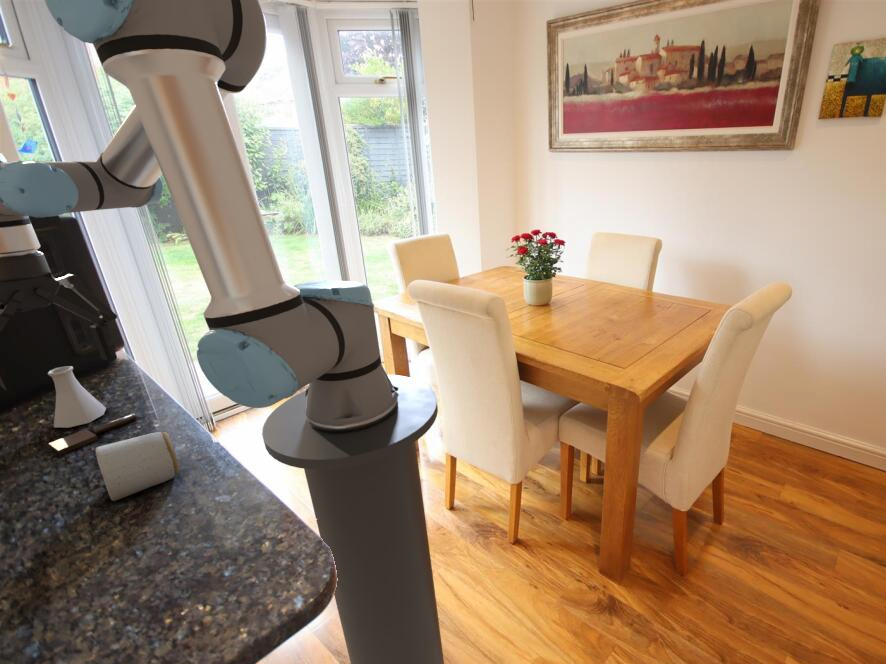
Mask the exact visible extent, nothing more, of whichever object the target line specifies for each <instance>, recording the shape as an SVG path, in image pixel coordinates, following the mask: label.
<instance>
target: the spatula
mask: <svg viewBox="0 0 886 664" xmlns="http://www.w3.org/2000/svg"><path fill="white" fill-rule="evenodd" d="M137 417H138V416H137V414H136V413H130V414H128V415H125V416H123V417H119V418H117V419H114V420H112V421H109V422H106V423H104V424H102V425H99V426H97V427H95V428H94V429H93V432H94V433H93V432H91V431H90V430H88V429H86V428H85V429H82V430H80V431H77V432H74V433H72V434H69V435H67V436H65V437H62V438H59V439H56V440H54V441H51V442H49V443H48V447H49V448H50V449H52V450H53V451H54V452H55V453H57V454H58V455H60V456H61V455H63V454H66V453H68V452H71V451H73V450H76V449H79V448H80V447H83V446H86V445H88V444H91V443H93V442H95V441H98V440H99V438H98V436H97V435H100V434H102V433H106V432H107V431H110V430H113V429H116V428H117V427H120V426H122V425H125V424H128V423H130V422H132V421H135V420H136V419H137ZM96 434H97V435H96Z"/></svg>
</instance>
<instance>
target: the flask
mask: <svg viewBox="0 0 886 664" xmlns="http://www.w3.org/2000/svg"><path fill="white" fill-rule="evenodd" d="M73 370H74V367H73V366H72V365H67V366H66V365H65V366H60V367H55V368H53V369H50V370H49V371H48V372H47V375H48V376H49V377H51V379H52V381H53V383H54V388H55V407H54V409H55V410H54V419H53V428H66V429H69V428H72V427H77V426H81V425H85V424H90V423H91V422H93V421H95V420H96V419H98V418H100V417H102V416H104V415H105V412H106V410H107V407H106V406H105V405H103V403H101V402H100V401H99V400H98V399H97V398H95V397H94V396H93V395H92V394H91V393H90V392H89V391H87V390H86V388H85V387H83V386H82V385H81V383H80V382H79V380H78V379H77V378H76V376H75V374H74V372H73Z"/></svg>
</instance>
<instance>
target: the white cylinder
mask: <svg viewBox="0 0 886 664" xmlns="http://www.w3.org/2000/svg"><path fill="white" fill-rule="evenodd" d="M173 445H174V444H173V442H172V440H171V436H170V435H169V433H167V432H166V431H155V432H151V433H146V434H143V435H139V436H136V437H132V438H127V439H124V440H120V441H116V442H112V443H107V444H103V445H101V446H97V447H96V448H95V454H96V455H95V456H96V460H97V464H98V466H99V470H100V473H101V475H102V476H101V477H102V478H103V482H104V484H105V487H106V490H107V493H108V496H109V498H110V500H111V501H112V502H116V501H118V500H121V499H124V498H126V497H128V496H131V495H134V494H137V493H140V492H142V491H144V490H146V489H149V488H152V487H154V486H157V485H159V484H162V483H165V482H167V481H170V480H171V479H173V478H175V477H176V476H178V475H179V473H180V471H181V468H180V464H179V460H178V457H177V454H176V450H175V448H174V446H173Z"/></svg>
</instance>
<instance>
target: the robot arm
mask: <svg viewBox="0 0 886 664" xmlns="http://www.w3.org/2000/svg"><path fill="white" fill-rule="evenodd" d="M44 3H45V5H46V7H47V9H48V11H49V14H50V15H51V16H52V18H53V19H54V20H55V22H56V23H57V24H58V26H60V27H61V28H63V30H64V31H65V32H66V33H67V34H68V35H70V36H72V37H74V38H76V39H78V40H79V41H80V42H82V43H87V44H92V46H93V48H94V50H95V52H96V55H97V58H98V60H99V62H100V65H101V67H102V69H103V71H104V73H105V74H106V75H107V76H109V77H110V78H111V79H114V80H115V81H117V82H118V83H120V84H121V85H123V86H125V87H126V89H127V90H128V91H129V93H130V96H131V98H132V100H133V103H134V106H133V107H132V109H131V110H130V111H129V113H128V115H126V118H125V119H124V121H123V122H122V123H121V125H120V126H119V128H118V129H117V131H116V132H115V134H114V135H113V136H112V138H111V140H110V141H109V142H108V144H107V145H106V147H105V148H104V149H103V151H102V152H101V153H100V154H99V156H98V158H97V159H96V160H90V161H89V160H88V161H86V160H85V161H83V160H81V161H78V160H77V161H76V160H73V161H36V160H15V161H8V160H7V158H6V157H5V155H3V153H1V152H0V334H1V333H2V332H3V330H4V328H5V326H6V325H7V323H8V322H9V320H10V319H11V318H12V317H13V316H14V314H15V313H16V312H22V313H25V312H30V311H32V310H34V309H44V308H48V307H49V306H50V305H52V304H54V305H56V306H58V307H60V308H62V309H64V310H66V311H68V312H70V313H73V314H74V315H77V316H79V317H81V318H83V319H85V320H87V321H89V322H91V323H92V324H93V325H89V329H90V332H91V334H92V337H93V339H94V342H95V345H96V348H97V349H98V353H99V356H100V358H101V359H102V360H104V361H105V362H111V361H113V356H112V354H111V352H110V348H109V346H108V342H111V341H112V335H111V333H110V330H109V327H108V326H109V323H110V322H111V321H114V320H117V319H118V315H117V313H115V312H114V311H113V310H112V309H111V308H109V307H108V306H107V305H106V304H105V303H104V302H102V301H101V300H100V299H99V298H97V297H96V295H94V293H92V292H91V291H90V290H88V289H87V288H86V287H85V286H84V285H83V283H82V281H81V279H80V277H79V276H78V275H76V274H71V273H67V274H65V275H64V276H61V277H58V278H56V277H54V276H53V274H52V271H51V268H50V267H49V264H48V262H47V259H46V257H45V253H43V252H42V251H40V250H38V249H40V248H41V243H40V242H39V239H38V236H37V233H36V232H35V229H34V227H33V225H32V221H31V219H30V217H33V218H38V219H39V218H40V219H44V218H46V217H47V218H48V217H50V218H51V217H57V216H62V215H65V214H71V213H72V214H73V213H82V212H92V211H103V210H114V209H125V208H141V207H144V206H149V205H154V204H157V203H158V202H160V201H161V200H162V198H163V191H164V183H163V180H164V181H165V184H166V186H167V189H168V191H169V194H170V196H171V199H172V201H173V204H174V207H175V209H176V212H177V214H178V217H179V219H180V222H181V224H182V227H183V229H184V232H185V234H186V237H187V240H188V243H189V244H190V248H191V249H192V250H191V251H192V253H193V254H194V257H195V259H196V263H197V265H198V267H199V269H200V272H201V275H202V277H203V280H204V282H205V284H206V287H207V290H208V293H209V295H210V302H209V303H208V305H207V307H206V308H205V310H204V312H203V313H202V314H203V318H204V320H205V323H206V324H207V325H206V326H207V328H208V331H207V332H205V334H204V335H202V336H201V338H200V339H199V340H198V342H197V348H198V349H197V350H196V358H197V363H198V365H199V367H200V369H201V371H202V373H203V375H204V376H205V378H206V379H207V380H208V382H209V383H210V384H211V385H212V386H213V388H214V389H215V390H217V392H219V393H220V394H221V395H222V396H224V397H225V398H228V399H229V400H230V401H232V402H233V403H235V404H238V405H240V406H242V407H243V406H244V407H247V408H251V409H264V408H268V407H271V406H274V405H276V404H277V403H279V402H281V401H283V400H284V399H290V398H292V397H294V396H295V395H296V394H297V392H298V391H301V389H303V388H304V387H306V386H308V387H307V388H306V389H305V391H306V394H305V397H306V396H307V395H308V397H307V404H306V412H305V413H306V417H307V422H308V424H309V426H310V427H312V428H313V429H315V430H317V431H320V432H324V433H333V434H340V433H350V432H356V431H360V430H364V429H367V428H370V427H373V426H375V425H377V424H379V423H381V422H383V421H385V420H386V419H388V418H389V417H390V416H391V415H392V414H393V413H394V412H395V411H396V409H397V407H398V399H397V393H396V391H398V388H397V387H395V386H393V385H392V383H391V381H390V379H389V377H388V376H387V374H388V373H387V372H386V370H385V369H384V367H383V364H382V357H381V351H380V343H379V337H378V330H377V324H376V316H375V310H374V308H375V303H373V299H372V294H371V289H370V288H369V287H368V286H367V285H366V284H364V283H362V282H360V281H352V280H323V281H319V280H318V281H309V282H303V283H298V284H295V285H291V284H289V283H287V282H286V281H285V279H284V278H283V276H282V271H281V269H280V266H279V263H278V260H277V256H276V254H275V251H274V249H273V245H272V242H271V240H270V236H269V234H268V233H269V232H267V227H266V224H265V222H264V218H263V215H262V213H261V210H260V207H259V204H258V201H257V198H256V196H255V192H254V190H253V187H252V184H251V181H250V178H249V175H248V172H247V169H246V165H245V164H244V163H245V162H244V160H243V156H242V154H241V151H240V147H239V146H238V142H237V140H236V137H235V134H234V130H233V127H232V126H231V125H232V124H231V122H230V119H229V116H228V113H227V110H226V107H225V104H224V100H225V98H226V97H227V96H228V95H229V94H240V93H241V92H243V91H244V90H245V88H246V87H247V86H248V85H249V84H250V82H251V81H252V80H253V79H254V77H255V76H256V75H257V73H258V72H259V69H260V68H261V66H262V64H263V62H264V58H265V55H266V53H267V45H268V27H267V21H266V17H265V14H264V11H263V8H262V5H261V3H260V1H259V0H44ZM161 176H162V177H163V180H162V177H161ZM60 286H64V288H67V289H70V290H72V291H73V292H74V293H75V294H76V295H78V296H79V297H81V299H82V300H83V301H85V302H86V303H87V304H88V305H90V306H91V308H93V309H94V310H96V311H97V312H98V313H99V314H100V315H99V316H98V315H96V314H93V313H92V312H90V311H88V310H86V309H84V308H82V307H81V306H78V305H76V304H74V303H72V302H70V301H68V300H67V299H64V298H62V297H61V296H59V295H57V293H58V291H59V289H60ZM0 387H1V388H2V389H3V390H4V391H6V392H9V391H14V387H13V385H12V383H11V381H10V379H9V376H8V375H7V372H6V370H5V367H4V366H3V364H2V362H1V361H0Z"/></svg>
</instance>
